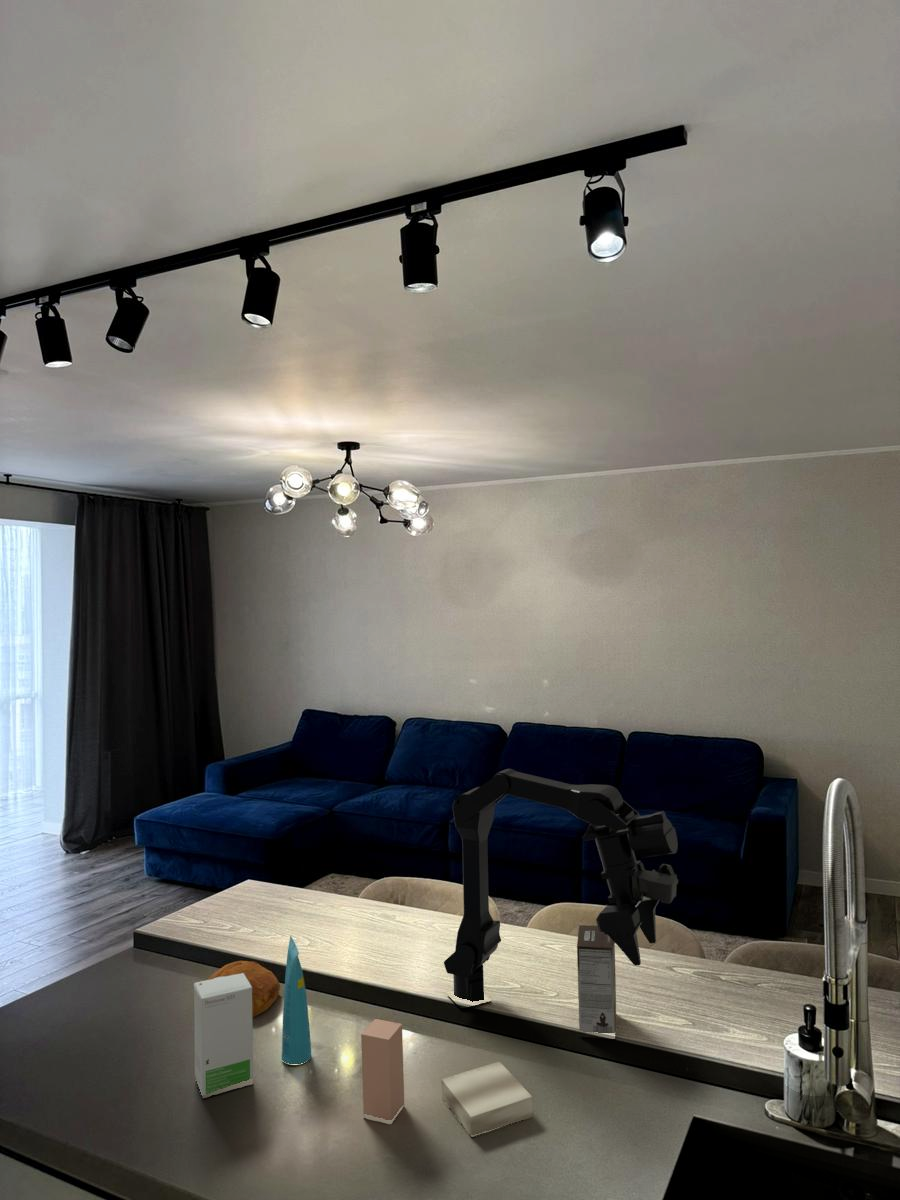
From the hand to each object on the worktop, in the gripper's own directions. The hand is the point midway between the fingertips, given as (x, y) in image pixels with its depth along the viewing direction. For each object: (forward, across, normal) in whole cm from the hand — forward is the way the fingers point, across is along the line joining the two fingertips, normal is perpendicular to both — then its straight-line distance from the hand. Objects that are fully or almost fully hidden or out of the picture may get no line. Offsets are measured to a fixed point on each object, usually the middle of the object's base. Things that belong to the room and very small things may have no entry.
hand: (645, 953), depth 136 cm
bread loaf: (-4, -21, +74) cm, 77 cm away
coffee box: (+12, +2, +13) cm, 18 cm away
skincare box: (0, -40, +59) cm, 71 cm away
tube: (+1, -30, +53) cm, 61 cm away
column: (+7, -35, +33) cm, 49 cm away
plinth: (+10, -27, +20) cm, 35 cm away
